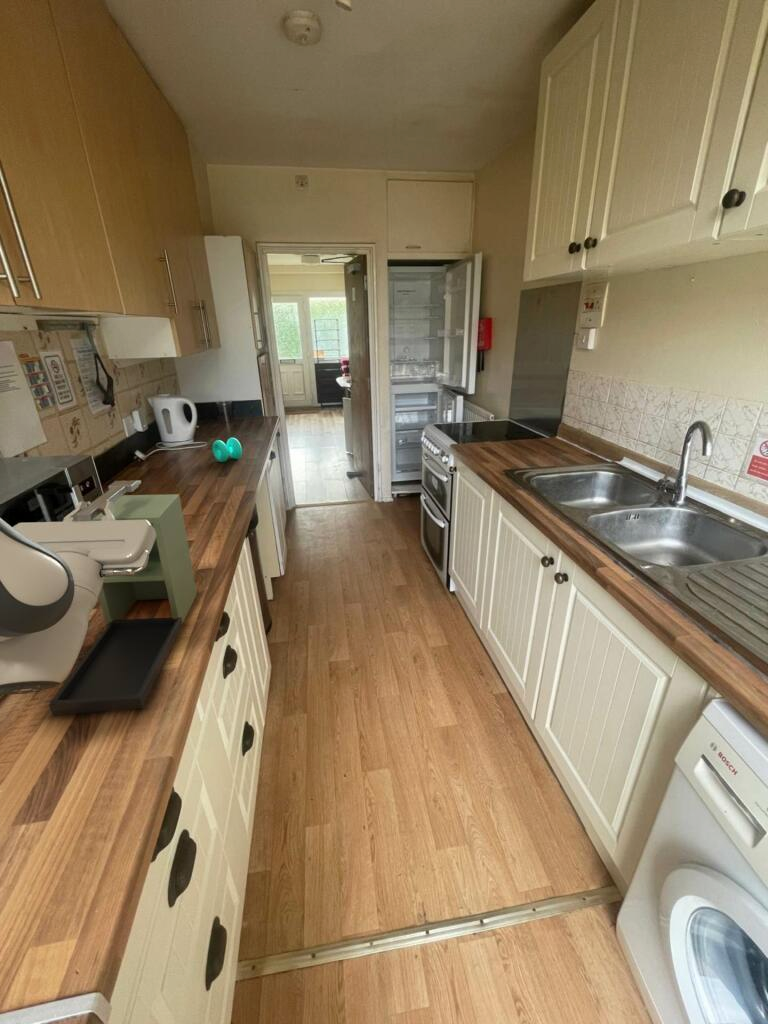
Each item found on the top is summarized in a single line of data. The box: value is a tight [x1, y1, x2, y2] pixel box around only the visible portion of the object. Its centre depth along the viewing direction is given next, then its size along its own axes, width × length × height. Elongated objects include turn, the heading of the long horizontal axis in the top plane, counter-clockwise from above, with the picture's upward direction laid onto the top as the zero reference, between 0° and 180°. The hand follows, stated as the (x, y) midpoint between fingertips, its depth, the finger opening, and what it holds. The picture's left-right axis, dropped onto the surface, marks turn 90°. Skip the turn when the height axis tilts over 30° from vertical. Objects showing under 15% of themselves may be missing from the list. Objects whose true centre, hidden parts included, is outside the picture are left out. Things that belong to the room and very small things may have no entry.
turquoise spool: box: [212, 437, 243, 463], centre depth 196 cm, size 10×10×10 cm
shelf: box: [92, 493, 198, 626], centre depth 88 cm, size 14×12×25 cm
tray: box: [48, 616, 184, 716], centre depth 78 cm, size 14×21×2 cm, turn 7°
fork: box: [76, 479, 142, 521], centre depth 75 cm, size 18×4×1 cm, turn 7°
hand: (97, 503), depth 71 cm, fingers closed on fork
